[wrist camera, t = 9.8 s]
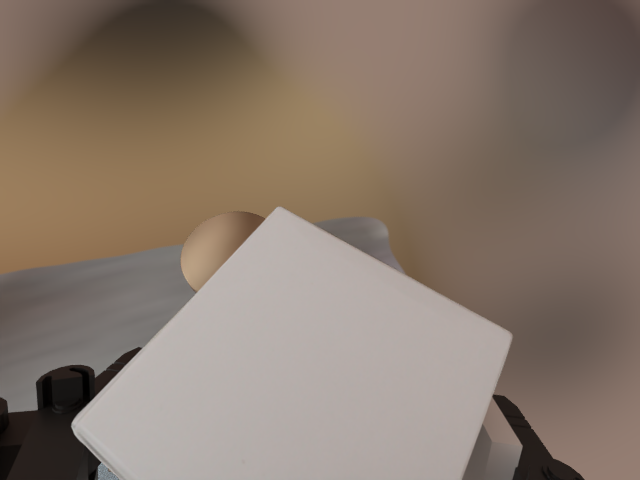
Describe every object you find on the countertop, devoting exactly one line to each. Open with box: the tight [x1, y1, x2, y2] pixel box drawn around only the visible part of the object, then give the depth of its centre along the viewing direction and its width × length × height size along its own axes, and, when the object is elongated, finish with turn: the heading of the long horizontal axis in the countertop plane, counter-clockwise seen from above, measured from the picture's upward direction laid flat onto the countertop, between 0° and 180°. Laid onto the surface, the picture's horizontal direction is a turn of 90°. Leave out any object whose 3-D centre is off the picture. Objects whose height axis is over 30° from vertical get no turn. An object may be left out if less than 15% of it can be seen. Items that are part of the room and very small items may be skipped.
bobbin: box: [181, 212, 265, 293], centre depth 33 cm, size 8×8×10 cm
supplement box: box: [71, 207, 513, 480], centre depth 13 cm, size 7×7×13 cm
